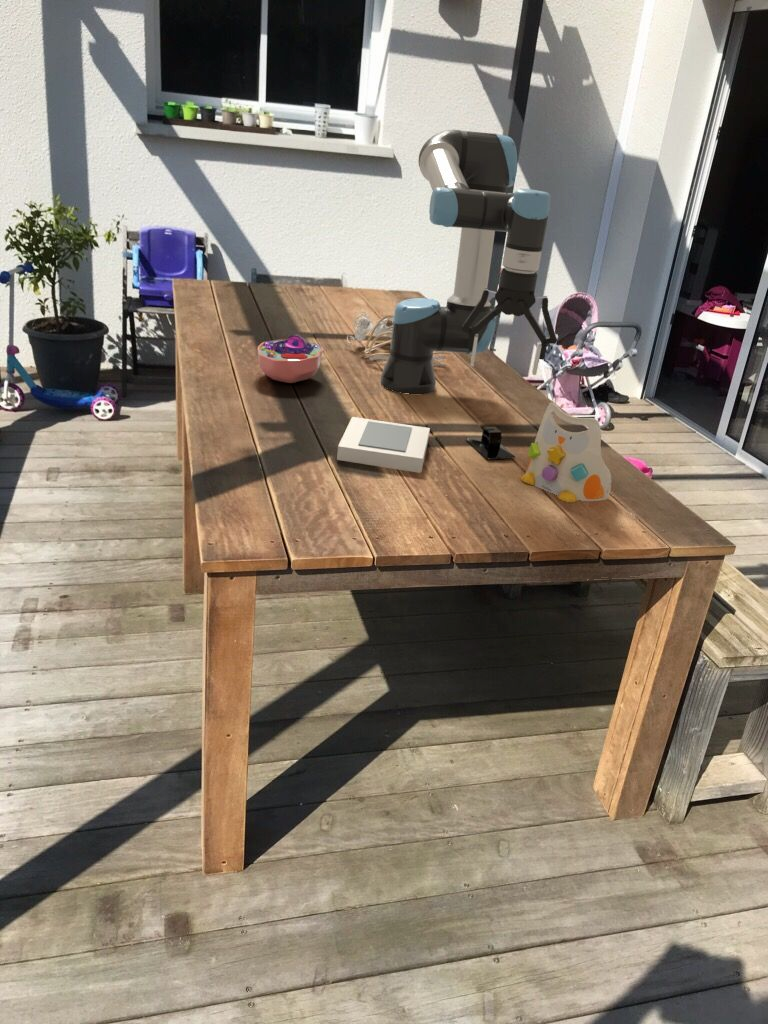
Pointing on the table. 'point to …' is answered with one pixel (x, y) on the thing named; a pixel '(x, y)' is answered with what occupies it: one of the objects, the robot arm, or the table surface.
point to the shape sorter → (568, 459)
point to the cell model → (289, 359)
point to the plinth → (384, 444)
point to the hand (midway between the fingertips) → (502, 369)
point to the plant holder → (379, 335)
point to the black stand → (490, 444)
